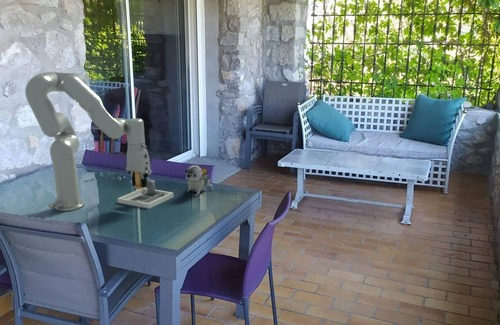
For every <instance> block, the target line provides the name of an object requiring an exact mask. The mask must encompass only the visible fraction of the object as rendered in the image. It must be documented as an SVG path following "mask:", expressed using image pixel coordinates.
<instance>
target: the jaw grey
mask: <svg viewBox="0 0 500 325" xmlns="http://www.w3.org/2000/svg"><path fill="white" fill-rule="evenodd" d="M155 185H156V182H155V180H154V179H149V180H148V179H147V186H146V188H147V196H151V197H153V196H155V195H156V194H155V190H156V186H155Z"/></svg>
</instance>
